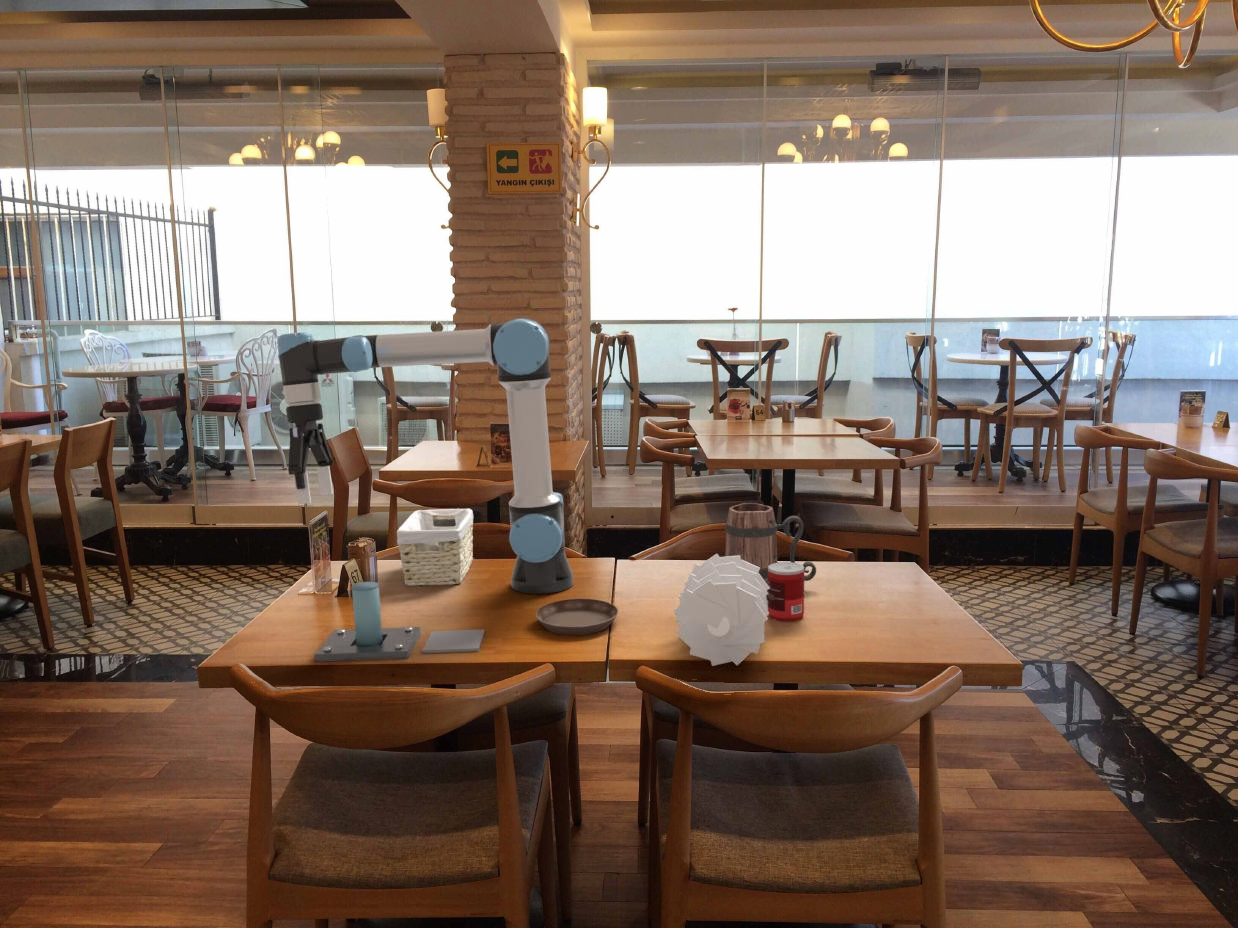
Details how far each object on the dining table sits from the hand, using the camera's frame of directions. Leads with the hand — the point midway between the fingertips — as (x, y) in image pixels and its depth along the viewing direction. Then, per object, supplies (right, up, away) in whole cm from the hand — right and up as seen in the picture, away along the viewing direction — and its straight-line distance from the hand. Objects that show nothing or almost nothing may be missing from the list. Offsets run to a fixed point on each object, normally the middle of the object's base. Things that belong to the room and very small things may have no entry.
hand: (316, 499), depth 209 cm
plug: (+17, -29, -18) cm, 38 cm away
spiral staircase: (+88, -29, -24) cm, 96 cm away
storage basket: (+21, -21, +34) cm, 45 cm away
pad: (+34, -29, -17) cm, 47 cm away
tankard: (+102, -22, +13) cm, 105 cm away
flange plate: (+17, -29, -18) cm, 38 cm away
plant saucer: (+58, -27, -7) cm, 65 cm away
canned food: (+103, -25, -6) cm, 107 cm away
